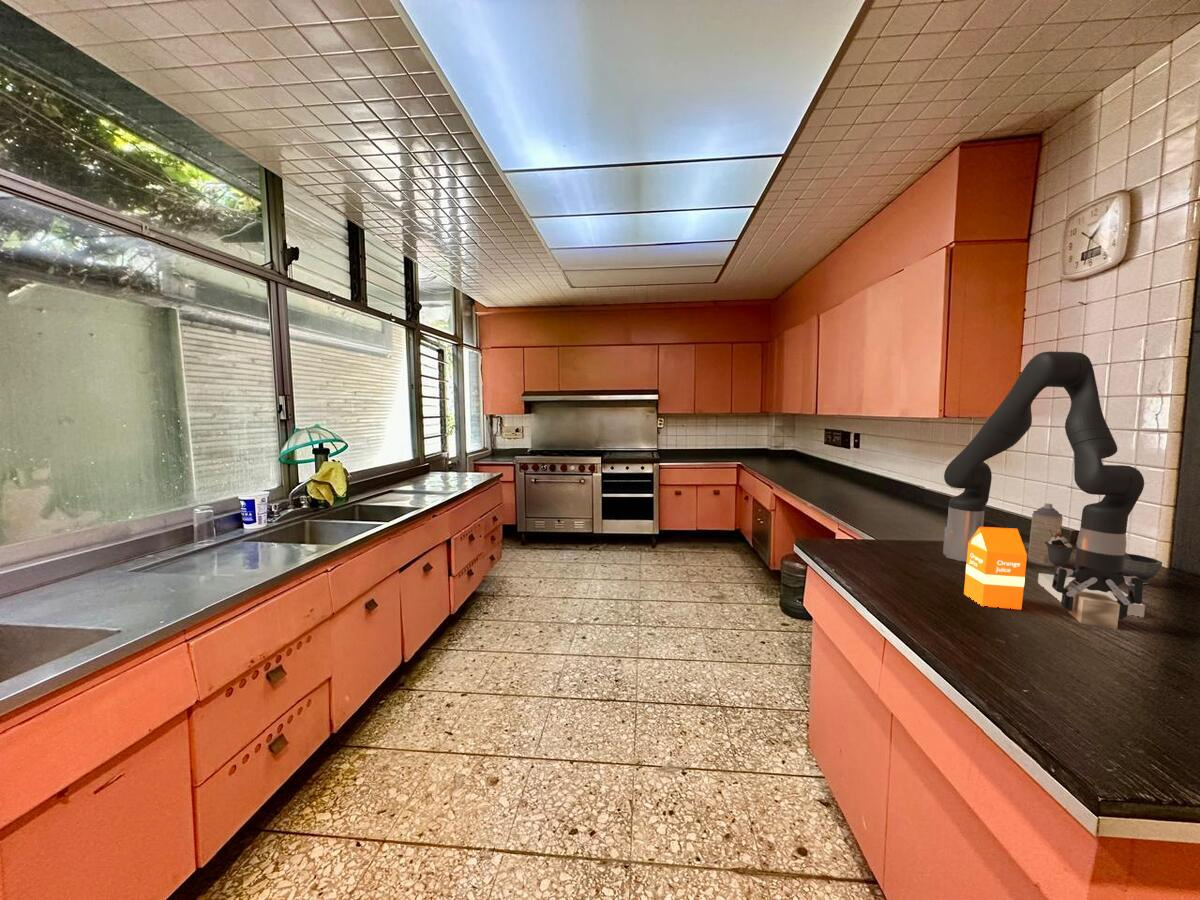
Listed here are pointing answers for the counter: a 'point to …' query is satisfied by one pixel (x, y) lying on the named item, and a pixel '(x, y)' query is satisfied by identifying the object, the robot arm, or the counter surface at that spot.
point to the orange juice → (996, 568)
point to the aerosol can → (1043, 534)
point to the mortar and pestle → (1141, 567)
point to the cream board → (1047, 581)
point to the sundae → (1059, 550)
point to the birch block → (1095, 609)
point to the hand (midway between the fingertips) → (1092, 613)
